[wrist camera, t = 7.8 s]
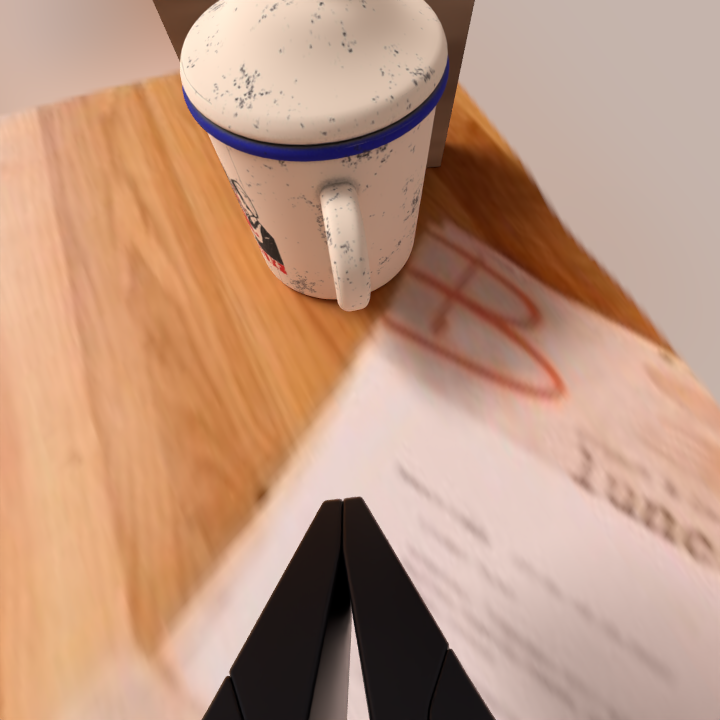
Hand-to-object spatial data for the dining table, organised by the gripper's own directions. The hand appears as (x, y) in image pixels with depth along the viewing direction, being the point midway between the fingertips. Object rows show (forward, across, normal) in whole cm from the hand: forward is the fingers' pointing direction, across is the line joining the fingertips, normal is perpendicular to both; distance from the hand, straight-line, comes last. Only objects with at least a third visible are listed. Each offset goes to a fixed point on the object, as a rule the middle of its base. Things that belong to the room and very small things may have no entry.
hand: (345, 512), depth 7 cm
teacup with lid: (+14, 0, -4) cm, 15 cm away
